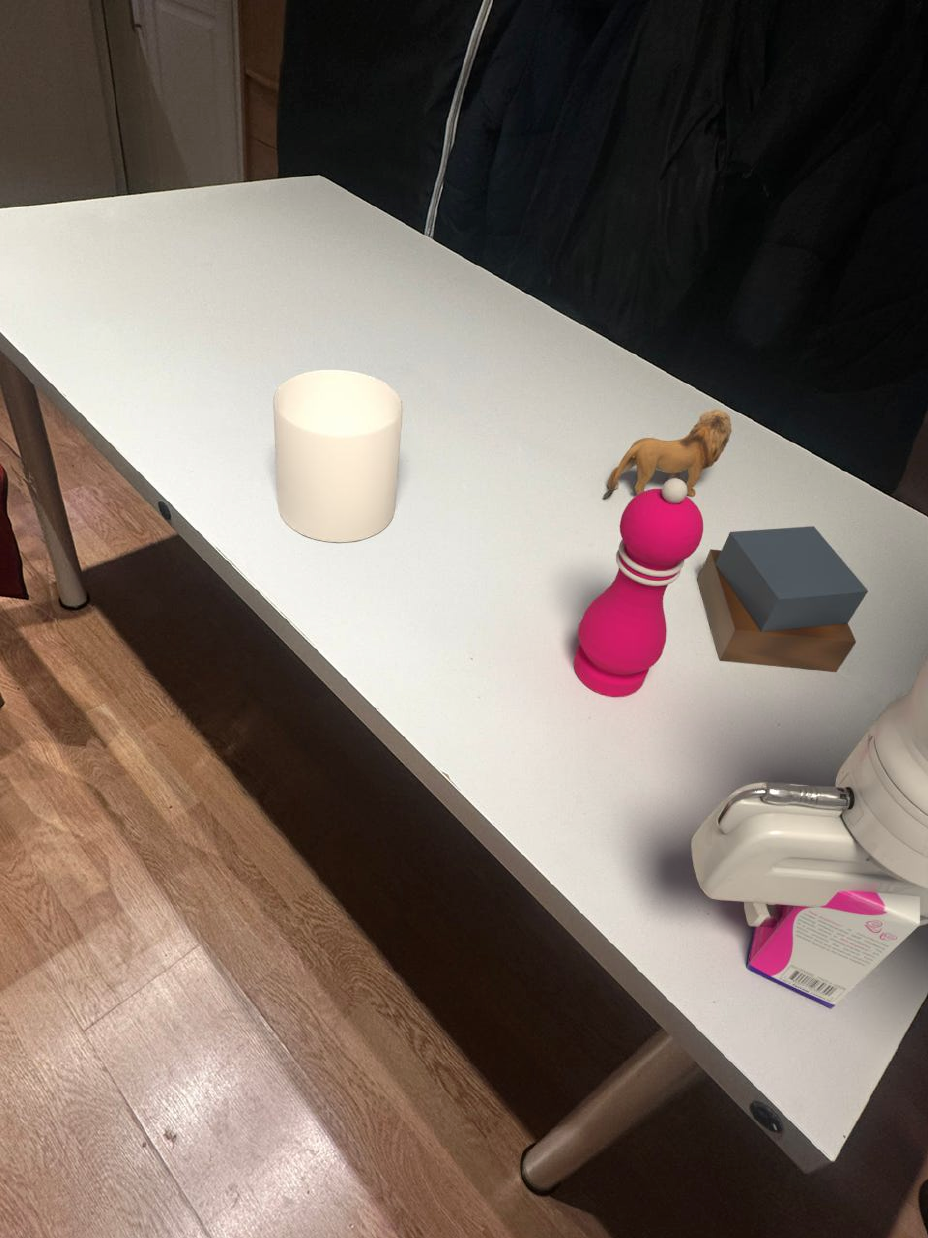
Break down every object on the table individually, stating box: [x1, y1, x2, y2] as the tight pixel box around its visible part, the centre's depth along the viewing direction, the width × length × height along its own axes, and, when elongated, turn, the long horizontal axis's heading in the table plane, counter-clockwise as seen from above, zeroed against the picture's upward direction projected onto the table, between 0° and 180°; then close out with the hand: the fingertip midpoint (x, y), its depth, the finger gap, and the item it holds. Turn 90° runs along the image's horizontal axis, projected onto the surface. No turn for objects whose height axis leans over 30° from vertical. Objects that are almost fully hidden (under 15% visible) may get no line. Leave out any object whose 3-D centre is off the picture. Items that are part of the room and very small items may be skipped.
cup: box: [272, 369, 404, 543], centre depth 79 cm, size 12×12×12 cm
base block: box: [696, 549, 857, 673], centre depth 77 cm, size 11×11×4 cm
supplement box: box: [746, 891, 920, 1010], centre depth 51 cm, size 6×6×12 cm
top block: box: [716, 525, 869, 632], centre depth 74 cm, size 9×9×4 cm
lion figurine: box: [603, 408, 733, 499], centre depth 89 cm, size 15×5×9 cm, turn 117°
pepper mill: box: [573, 478, 704, 698], centre depth 65 cm, size 7×7×20 cm
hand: (820, 921), depth 52 cm, fingers closed on supplement box, 7 cm apart
